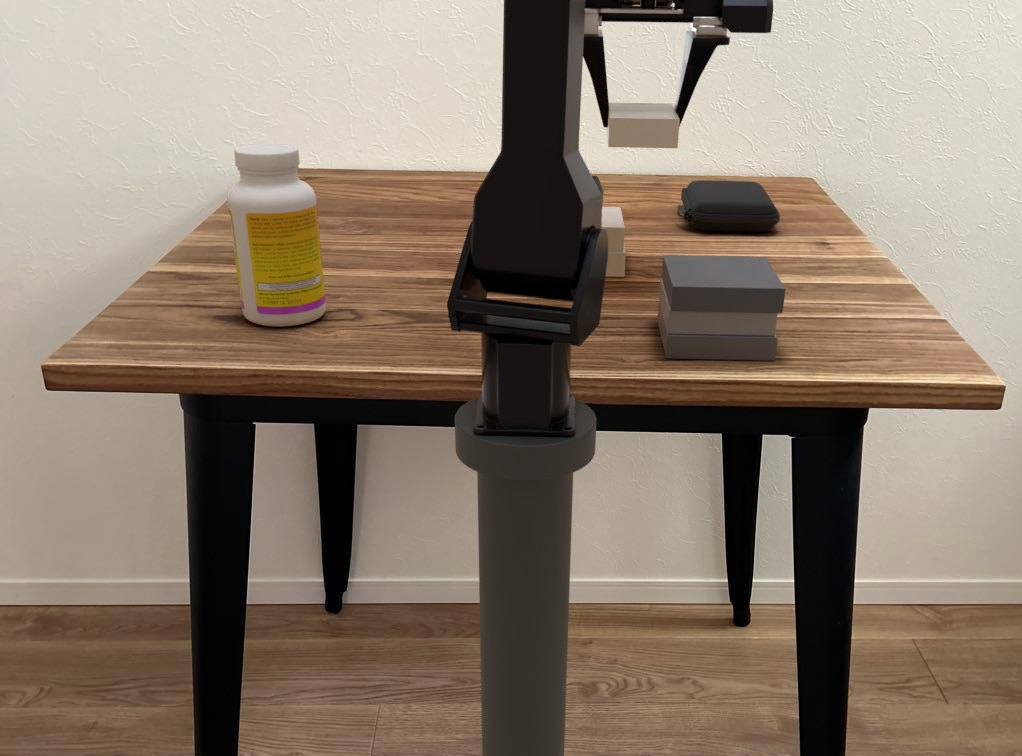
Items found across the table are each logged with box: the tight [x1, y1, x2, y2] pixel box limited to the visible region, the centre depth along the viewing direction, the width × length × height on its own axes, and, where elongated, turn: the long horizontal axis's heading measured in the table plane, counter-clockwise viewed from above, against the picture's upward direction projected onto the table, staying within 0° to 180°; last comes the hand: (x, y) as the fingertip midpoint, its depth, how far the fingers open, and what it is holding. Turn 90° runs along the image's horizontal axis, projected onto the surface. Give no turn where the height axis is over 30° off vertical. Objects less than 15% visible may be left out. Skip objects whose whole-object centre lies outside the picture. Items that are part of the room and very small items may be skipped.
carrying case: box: [676, 179, 781, 233], centre depth 116 cm, size 11×3×15 cm
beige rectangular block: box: [605, 102, 680, 149], centre depth 86 cm, size 8×6×2 cm
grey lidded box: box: [656, 254, 787, 362], centre depth 80 cm, size 9×8×5 cm
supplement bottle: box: [226, 143, 327, 328], centre depth 82 cm, size 7×7×13 cm
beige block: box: [602, 206, 627, 278], centre depth 99 cm, size 9×6×4 cm
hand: (641, 127), depth 87 cm, fingers closed on beige rectangular block, 5 cm apart
